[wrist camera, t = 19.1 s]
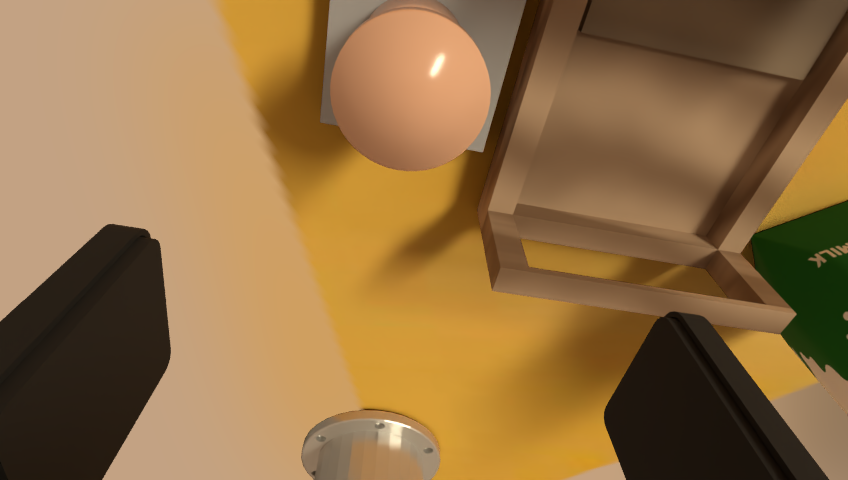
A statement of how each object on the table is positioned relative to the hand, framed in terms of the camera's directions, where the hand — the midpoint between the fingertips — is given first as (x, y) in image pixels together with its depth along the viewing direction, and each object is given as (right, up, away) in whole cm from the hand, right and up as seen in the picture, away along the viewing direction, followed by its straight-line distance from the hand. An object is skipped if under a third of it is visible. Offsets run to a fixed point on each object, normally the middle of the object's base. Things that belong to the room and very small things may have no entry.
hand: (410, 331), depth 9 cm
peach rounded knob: (0, +11, +15) cm, 18 cm away
